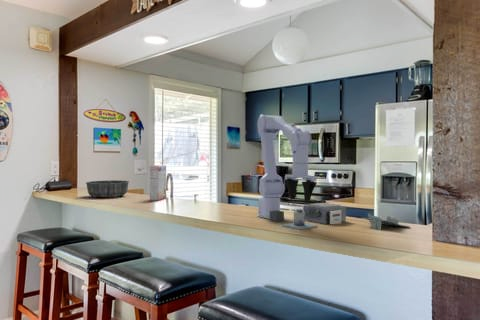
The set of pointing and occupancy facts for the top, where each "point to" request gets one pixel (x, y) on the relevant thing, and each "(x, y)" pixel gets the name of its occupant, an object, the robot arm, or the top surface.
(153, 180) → the cracker box
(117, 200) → the top surface
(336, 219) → the label tile
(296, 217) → the cylinder
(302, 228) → the pad
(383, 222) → the metal bracket
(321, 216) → the box
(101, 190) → the bundt pan
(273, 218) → the rubber block
